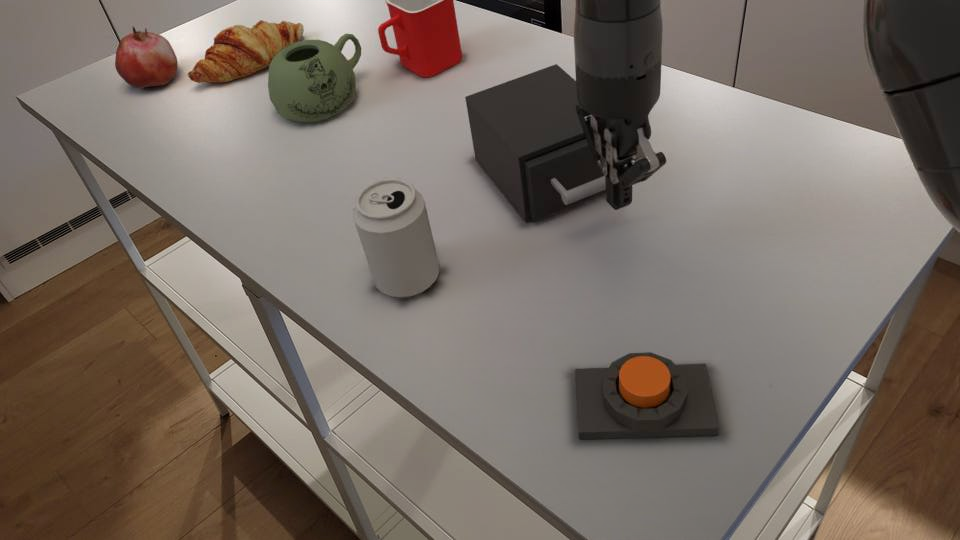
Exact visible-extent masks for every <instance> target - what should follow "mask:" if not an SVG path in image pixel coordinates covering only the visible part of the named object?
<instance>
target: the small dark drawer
mask: <svg viewBox="0 0 960 540" xmlns="http://www.w3.org/2000/svg"><path fill="white" fill-rule="evenodd" d="M524 164H525V173H526V182H527V191H528V201H529V210H530V216H531V218H532V219H533V221H534V222H537V221H539V220H542V219H545V218H547V217H549V216H551V215H554V214H557V213H558V212H561V211H564V210H567V209H569V208H571V207H574V206H577V205H579V204H582V203H584V202H586V201H589V200H591V199H594V198H597V197H599V196H601V195H603V194H606V181H605V175H604V174H603V173H602V170H601V163H600V160H599V161H595V160H594V159H593V157H592V154H591V151H590V149H589V146H588V143H587V140H586V137H585V138H583V139H580V140H578V141H575V142H572V143H570V144H567V145H565V146H562V147H559V148H557V149H554V150H552V151H549V152H546V153H544V154H541V155H539V156H536V157H533V158H531V159H528V160H526V161H525V162H524Z"/></svg>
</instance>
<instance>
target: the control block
mask: <svg viewBox="0 0 960 540" xmlns="http://www.w3.org/2000/svg"><path fill="white" fill-rule="evenodd" d="M639 356H648V357H653V358H656V359H658V360H660V361H661V362H662V363H664V364H665V365H666V367H667V368H668V370H669V372H670V376H671V380H670V392H669V395H668V397H667V399H666V400H665V401H664V402H663V403H661V404H660V405H658V406H655V407H651V408H640V407H636V406H633V405H631V404H630V403H628V402H627V401H626V400H625V399H624V398H623V397H622V395H621V393H620V390H619V372H620V369H621V367H622V366H623V364H624V363H625V362H627V361H628V360H630V359H632V358H634V357H639ZM574 371H575V372H574V374H575V375H574V376H575V389H576V390H575V392H576V393H575V394H576V407H577V408H576V411H577V428H578V431H577V432H578V440H611V439H639V438H641V439H643V438H672V437H673V438H674V437H707V436H708V437H709V436H710V437H711V436H718V435H719V430H720V425H719V421H718V416H717V412H716V406H715V402H714V397H713V392H712V388H711V387H712V386H711V382H710V377H709V372H708V368H707V364H706V363H686V364H685V363H684V364H683V363H681V364H675V362H673V360H671V359H669V358H667V357H664V356H662V355H659V354H657V353H654V352H651V351H649V352H648V351H647V352H629V353H627V354H625V355H623V356H621V357H620V358H617V359H615V360H613V361H612V362H611V363H610V364H609V366H608V367H589V368H586V367H585V368H575V369H574Z"/></svg>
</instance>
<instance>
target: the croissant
mask: <svg viewBox="0 0 960 540" xmlns="http://www.w3.org/2000/svg"><path fill="white" fill-rule="evenodd" d="M304 32H305V30H304V24H303V23H301V22H297V23H295V22H290V21H286V20H282V21H281V22H279V23H276V22H268V21H265V20H262V19H261V20H259V21H258V22H256V23H255V24H253V25H252V27H247V26H246V25H243V24H235V25H233V26H228V27H227V28H226V27H225V28H224V29H222V30H221V31H219V32H218V33H217V34H216V36H214V38H213V45H210V47H208V48H207V49H206V50H205V55H204V58H203V59H199V60H198V61H197V62H196V63H195V65H194V66H193V68H192V70H190V71H188V72H187V76H188V78H189V79H190V80H191V81H192V82H194V83H198V84H200V83H201V84H202V83H214V82H215V83H226V82H229V83H230V82H231V81H233V80H237V79H240V78H243V77H248V76H250V75H254V74H255V73H257V72H258V71H260V70H263V69H265V68H268V67H269V66H270V63H271V61H272V59H273V58H274V56H275V55H276V54H277V53H278V51H280V50H281V49H283V48H284V47H286V46H288V45H290V44H293V43H295V42H299V41H300V39H301V38H302V36H303V35H304Z"/></svg>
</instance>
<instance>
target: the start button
mask: <svg viewBox="0 0 960 540" xmlns="http://www.w3.org/2000/svg"><path fill="white" fill-rule="evenodd" d="M670 380H671V376H670V372H669V370H668V368H667V367H666V365H665V364H664V363H662V362H661V361H660V360H658V359H656V358H653V357H648V356H639V357H634V358H632V359H630V360H628V361H627V362H625V363H624V364H623V366H622V367H621V369H620V372H619V390H620V393H621V395H622V397H623V398H624V399H625V400H626V401H627V402H628V403H630V404H631V405H633V406H636V407H640V408H651V407H655V406H658V405H660V404H661V403H663V402H664V401H665V400H666V399H667V397H668V395H669V392H670Z"/></svg>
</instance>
